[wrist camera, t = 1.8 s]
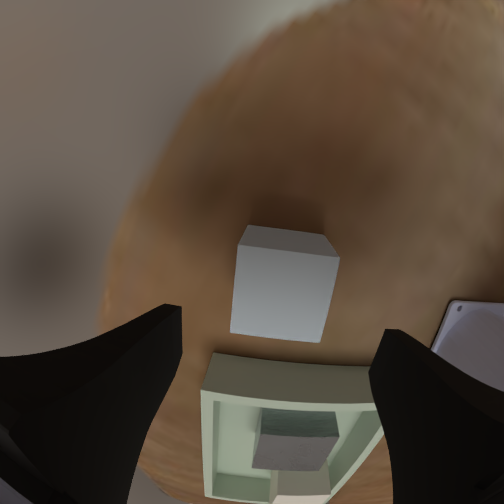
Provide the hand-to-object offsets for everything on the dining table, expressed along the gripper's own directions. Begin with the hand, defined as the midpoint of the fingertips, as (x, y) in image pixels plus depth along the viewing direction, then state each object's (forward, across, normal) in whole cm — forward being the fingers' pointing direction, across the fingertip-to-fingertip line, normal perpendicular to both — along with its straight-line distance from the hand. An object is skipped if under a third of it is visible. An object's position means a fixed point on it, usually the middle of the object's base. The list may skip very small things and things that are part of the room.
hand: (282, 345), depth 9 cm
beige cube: (+7, -6, +22) cm, 24 cm away
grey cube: (+8, 0, 0) cm, 8 cm away
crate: (+8, -3, +17) cm, 19 cm away
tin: (+8, -3, +13) cm, 15 cm away
